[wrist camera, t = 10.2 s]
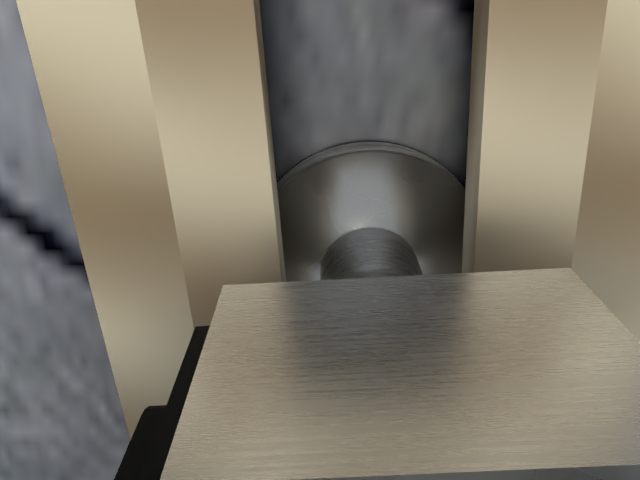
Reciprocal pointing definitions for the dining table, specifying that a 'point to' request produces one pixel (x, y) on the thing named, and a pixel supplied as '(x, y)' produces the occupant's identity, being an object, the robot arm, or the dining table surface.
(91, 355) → the dining table surface
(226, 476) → the keyhole peg
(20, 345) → the dining table surface
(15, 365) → the dining table surface
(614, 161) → the keyhole plate
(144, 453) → the robot arm
